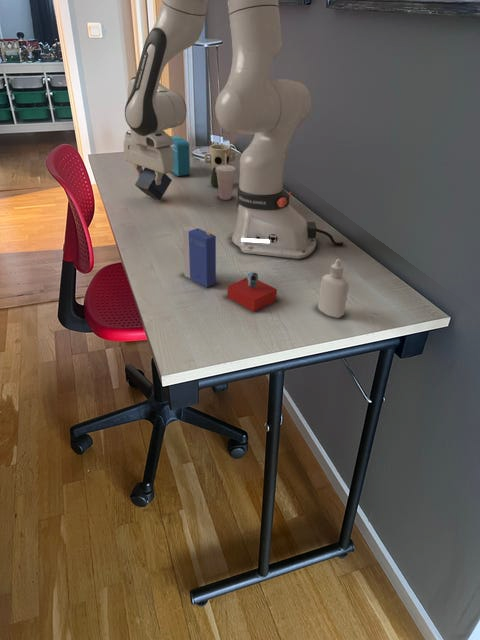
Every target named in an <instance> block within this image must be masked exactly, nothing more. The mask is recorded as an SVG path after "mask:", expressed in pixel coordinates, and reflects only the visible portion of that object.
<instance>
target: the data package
mask: <svg viewBox="0 0 480 640" xmlns="http://www.w3.org/2000/svg"><path fill="white" fill-rule="evenodd" d="M170 136H171V137H172V139H173V144H172V145H170V146H171V147H172V149H173V154H174V169H173V171H172V172H171V173H173V174H174V175H175V176H176V177H185V176H190V174H191V158H190V154H191V153H190V143H189V141H188V140H186V139H185V138H183V137H182V136H180V135H170Z"/></svg>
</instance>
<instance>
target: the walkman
mask: <svg viewBox="0 0 480 640" xmlns="http://www.w3.org/2000/svg"><path fill="white" fill-rule="evenodd" d="M182 232H183V233H182V234H183V237H182V238H183V265H184V266H183V268H184V269H183V270H184V277H186V278H188V279H190V280H192V281H194V282H196V283H198V284H200V285H201V286H204V287H205V288H209V287H211V286H214V285H215V284H217V267H216V266H217V242H216V241H217V239H216V238H217V236H216V235H214V234H213V233H212V232H210V231H205V230H203V229H201V228H198V227H197V226H194V225H191V226H189V227H188V226H187V227H184V228H182Z"/></svg>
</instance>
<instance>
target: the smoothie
mask: <svg viewBox="0 0 480 640" xmlns="http://www.w3.org/2000/svg"><path fill="white" fill-rule="evenodd" d="M215 171H216V172H217V181H218V186H217V188H218V197H219V199H220V200H223V201H226V200H227V201H229V200H231V198H232V194H233V193H232V192H233V185H234V178H235V173H236V167H235V166H233V165H230V166H229V165H227V153H225V165H221V166H217V167H216V170H215Z"/></svg>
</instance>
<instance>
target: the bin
mask: <svg viewBox="0 0 480 640" xmlns="http://www.w3.org/2000/svg"><path fill="white" fill-rule="evenodd" d="M155 177H156V174H155V171H154V170H151V169H148V168H145V167H143V172H142V173H141V175H140V177H139V178H138V177H137V180H136V182H135V183H134V186H135V187H137V188H138V189H139V190H140V191H141V192H142V193H144V194H145V195H146V196H147V197H150V198H153V199H155V200H158V201H161V200H162V198H163V197H164V195H165V194H166V191H167V189H168V188H169V186H170V184H171V183H172V180H173V179H171V178H170V177H169V175H167V174H163V176H162V178H161V184H160V185H155V184H154V180H153V179H154V178H155Z"/></svg>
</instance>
